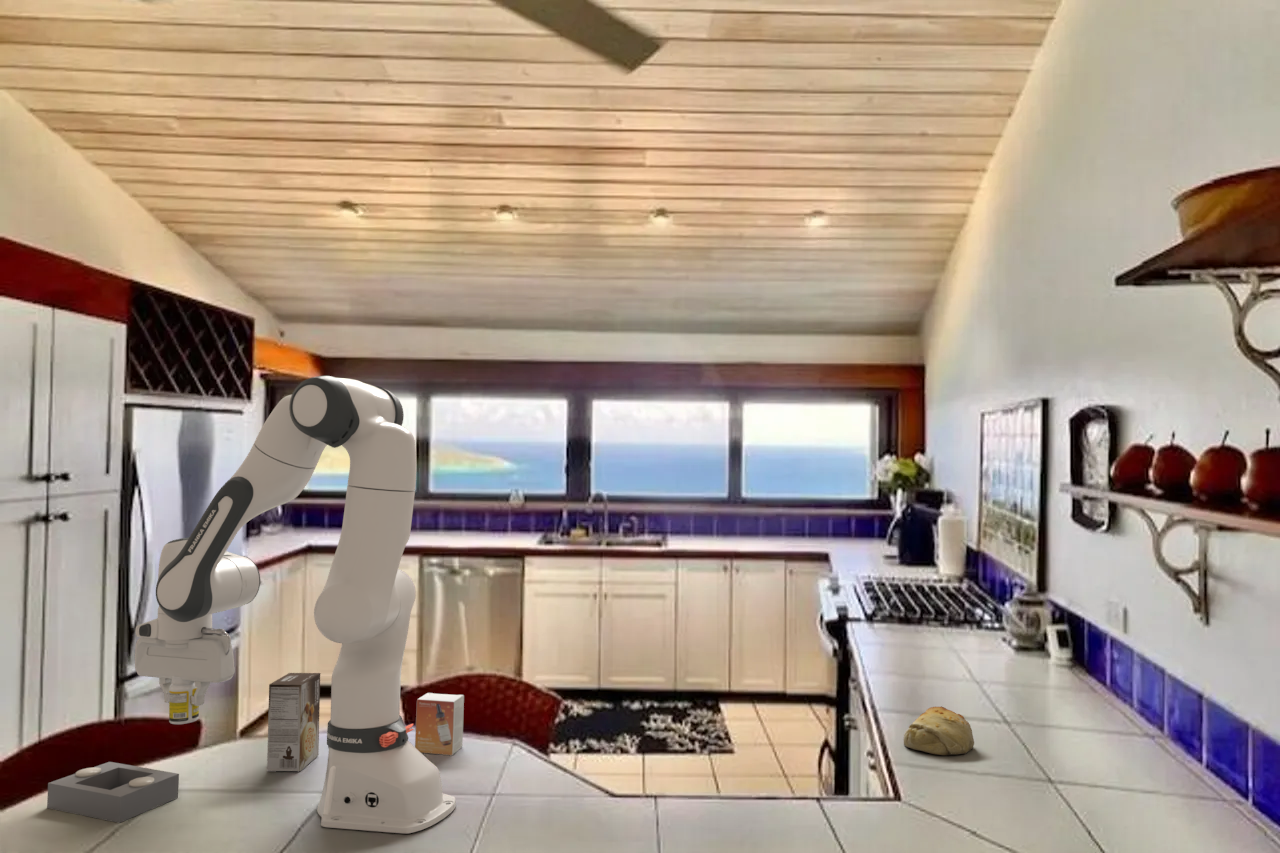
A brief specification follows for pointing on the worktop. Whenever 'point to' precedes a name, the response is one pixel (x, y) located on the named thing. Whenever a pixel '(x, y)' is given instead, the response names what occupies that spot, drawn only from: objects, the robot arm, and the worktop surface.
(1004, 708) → the worktop surface
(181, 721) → the supplement bottle
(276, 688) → the coffee box
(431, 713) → the small box
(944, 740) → the pastry
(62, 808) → the housing
